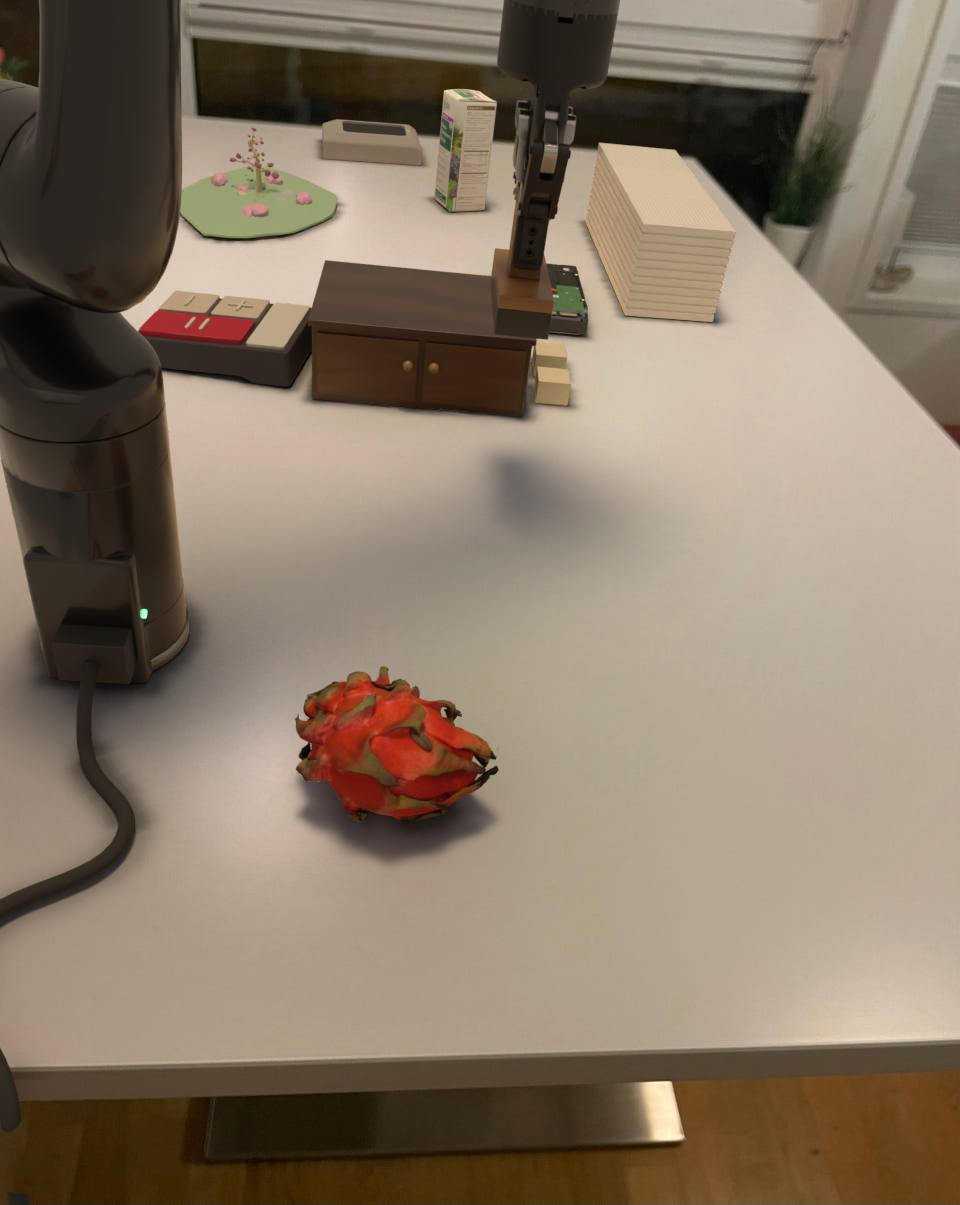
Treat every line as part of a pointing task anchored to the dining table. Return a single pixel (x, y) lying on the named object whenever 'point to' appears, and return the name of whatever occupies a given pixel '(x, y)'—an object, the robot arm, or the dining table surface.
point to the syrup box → (464, 150)
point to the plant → (255, 201)
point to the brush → (520, 293)
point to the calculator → (231, 336)
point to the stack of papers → (657, 233)
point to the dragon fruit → (389, 748)
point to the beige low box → (371, 142)
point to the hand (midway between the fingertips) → (524, 259)
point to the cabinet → (413, 341)
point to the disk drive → (567, 300)
